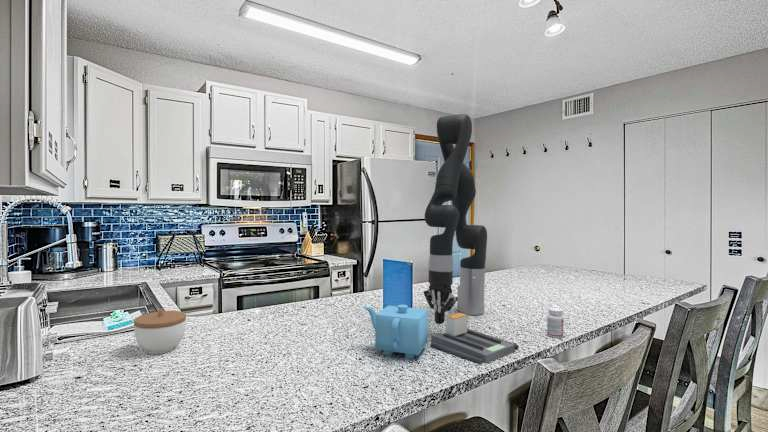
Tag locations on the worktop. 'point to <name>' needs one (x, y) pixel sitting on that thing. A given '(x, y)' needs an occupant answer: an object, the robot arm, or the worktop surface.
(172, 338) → the lidded bowl
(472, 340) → the panel
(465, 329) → the grey orange rectangular block
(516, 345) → the dark grey rod
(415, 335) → the teapot
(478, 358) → the cord
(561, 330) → the pill bottle
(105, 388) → the worktop surface
